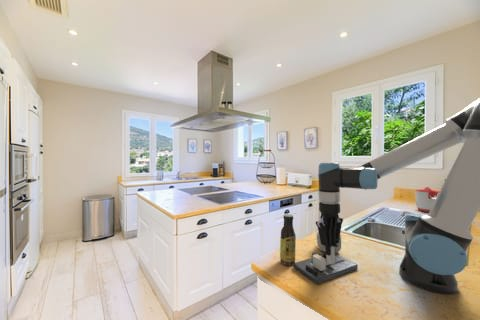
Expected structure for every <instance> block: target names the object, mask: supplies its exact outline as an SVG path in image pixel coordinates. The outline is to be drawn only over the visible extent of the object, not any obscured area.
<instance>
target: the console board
mask: <svg viewBox="0 0 480 320" xmlns="http://www.w3.org/2000/svg"><path fill="white" fill-rule="evenodd" d="M325 252H326V250H323V251H322V254H320V253H318V252H312V253H311V255H312V256H311V257H310V258H306V259H303V260H299V261H295V263H293V265H292V268H293V270H294V271H295V272H296V271H297V272H298V273H299V274H300V275H302V276H303V277H304V278H306V279H308V280H309V281H310V282H311V283H313V284H315V285H316V286H317V285H320V284H323V283H325V282H326V283H327V282H328V281H332V280H333V279H335V278H339V277H341V276H343V275H344V276H345V275H347V274H350V273H351V272H355V271H357V270H358V269H359V268H358V267H359V266H358V264H357V263H356V262H353V261H351V260H349V259H348V258H345V257H343V256H341V255H339V254H337V253H335V264H333V265H332V264H330V263H328V262H326V270H323V271H320V270H318V269H317V268H315V267H313V255H319V256H321V257H323V258H325V259H326V253H325Z"/></svg>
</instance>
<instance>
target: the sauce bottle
mask: <svg viewBox="0 0 480 320" xmlns="http://www.w3.org/2000/svg"><path fill="white" fill-rule="evenodd" d="M293 221H294V215H292V214H283V226H282V228H281V230H280V245H279V246H280V247H279V260H280V263H281V264H282V265H285V266H293V263H296V245H297V244H296V242H297V241H296V238H297V237H296V233H295V229H294V225H293V224H294V222H293Z"/></svg>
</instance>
